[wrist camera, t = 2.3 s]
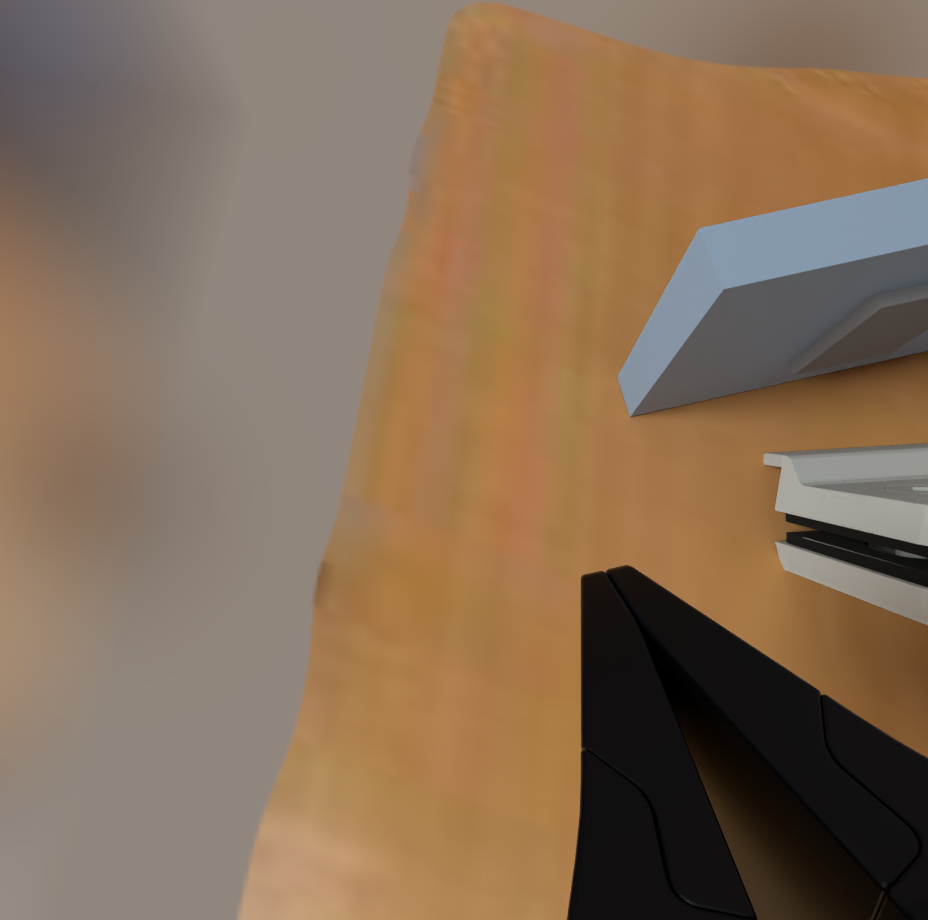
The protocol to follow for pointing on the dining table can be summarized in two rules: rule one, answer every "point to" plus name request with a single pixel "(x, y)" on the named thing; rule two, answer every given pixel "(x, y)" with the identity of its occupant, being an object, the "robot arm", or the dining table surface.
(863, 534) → the white black-striped curved device
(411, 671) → the dining table surface
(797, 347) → the cabinet side panel
